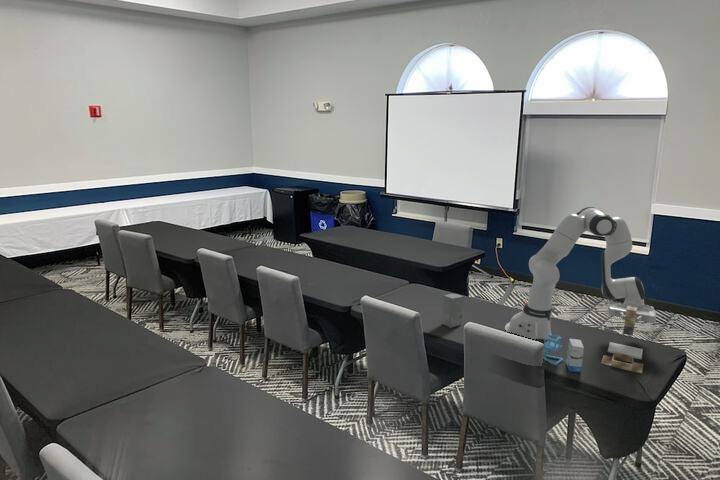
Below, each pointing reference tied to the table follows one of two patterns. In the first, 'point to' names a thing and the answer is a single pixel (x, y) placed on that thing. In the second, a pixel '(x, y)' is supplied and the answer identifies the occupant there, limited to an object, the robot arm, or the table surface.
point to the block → (630, 320)
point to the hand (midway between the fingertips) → (630, 319)
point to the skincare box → (452, 310)
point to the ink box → (575, 355)
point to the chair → (552, 348)
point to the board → (625, 350)
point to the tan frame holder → (622, 365)
